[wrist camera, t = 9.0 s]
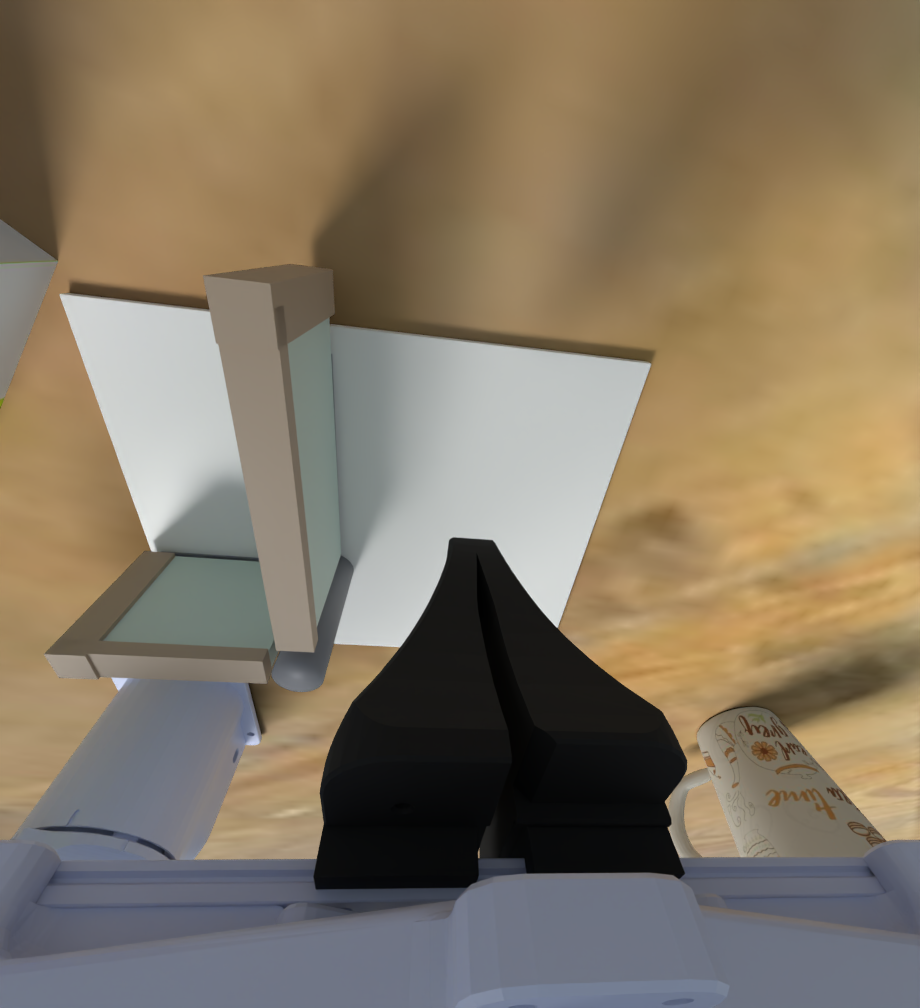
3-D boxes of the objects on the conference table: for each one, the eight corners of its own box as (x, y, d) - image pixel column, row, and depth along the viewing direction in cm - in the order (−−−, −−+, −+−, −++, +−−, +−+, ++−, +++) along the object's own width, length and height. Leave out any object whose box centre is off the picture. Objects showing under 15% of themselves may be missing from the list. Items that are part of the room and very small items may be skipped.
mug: (812, 720, 32) (943, 891, 24) (677, 785, 37) (746, 944, 29) (755, 682, 29) (883, 862, 21) (617, 758, 34) (675, 927, 26)
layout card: (546, 649, 26) (548, 655, 26) (185, 630, 24) (180, 637, 24) (647, 361, 17) (652, 364, 16) (67, 292, 15) (56, 294, 14)
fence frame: (355, 578, 23) (325, 692, 17) (163, 566, 22) (61, 682, 16) (354, 550, 22) (322, 661, 16) (152, 536, 21) (40, 648, 15)
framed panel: (345, 553, 21) (313, 654, 16) (316, 552, 21) (275, 652, 15) (332, 269, 14) (270, 283, 9) (290, 263, 14) (203, 275, 9)
